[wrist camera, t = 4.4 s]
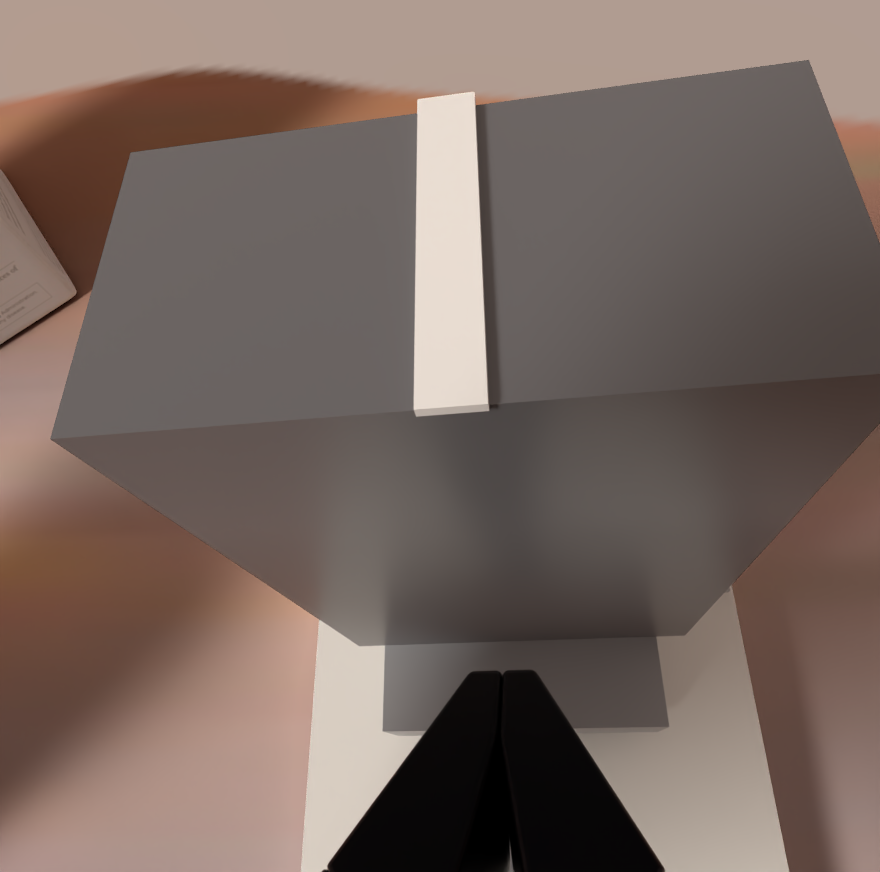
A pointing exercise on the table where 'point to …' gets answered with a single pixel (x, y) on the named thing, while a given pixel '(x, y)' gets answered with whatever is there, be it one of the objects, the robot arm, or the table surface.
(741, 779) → the fader base
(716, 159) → the fader
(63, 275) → the supplement box
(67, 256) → the table surface
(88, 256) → the table surface
